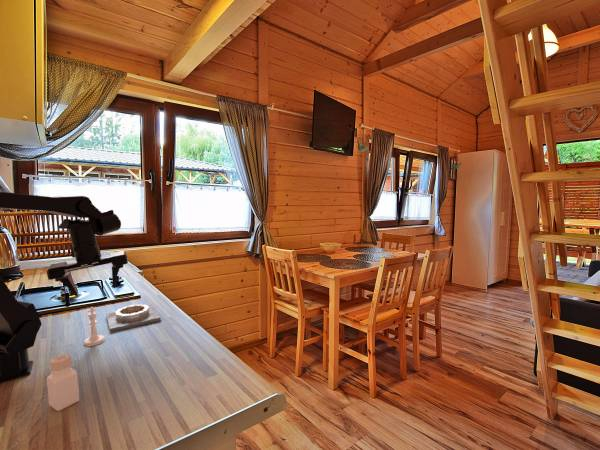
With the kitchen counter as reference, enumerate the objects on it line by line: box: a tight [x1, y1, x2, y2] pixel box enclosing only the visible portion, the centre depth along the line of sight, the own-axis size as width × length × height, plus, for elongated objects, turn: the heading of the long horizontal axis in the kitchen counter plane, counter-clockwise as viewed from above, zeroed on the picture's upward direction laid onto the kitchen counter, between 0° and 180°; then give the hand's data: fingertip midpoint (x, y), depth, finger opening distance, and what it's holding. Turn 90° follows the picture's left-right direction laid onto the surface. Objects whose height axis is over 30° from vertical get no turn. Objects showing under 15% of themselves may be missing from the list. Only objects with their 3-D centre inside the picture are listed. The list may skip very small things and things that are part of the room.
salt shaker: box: [46, 353, 80, 412], centre depth 61 cm, size 4×4×10 cm
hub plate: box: [105, 303, 162, 333], centre depth 102 cm, size 14×14×3 cm
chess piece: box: [83, 306, 106, 347], centre depth 86 cm, size 5×5×10 cm
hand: (96, 291), depth 90 cm, fingers open, 9 cm apart
